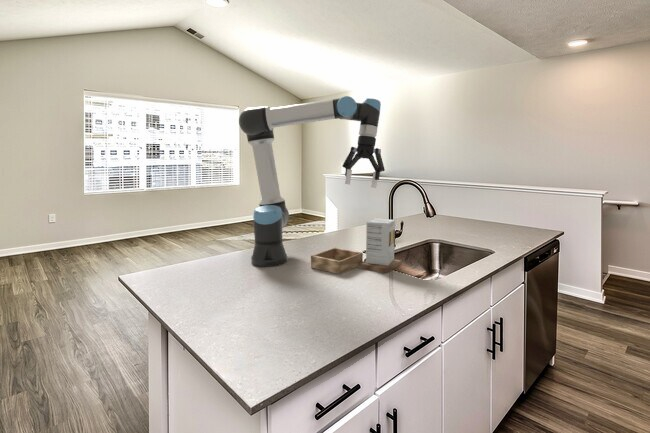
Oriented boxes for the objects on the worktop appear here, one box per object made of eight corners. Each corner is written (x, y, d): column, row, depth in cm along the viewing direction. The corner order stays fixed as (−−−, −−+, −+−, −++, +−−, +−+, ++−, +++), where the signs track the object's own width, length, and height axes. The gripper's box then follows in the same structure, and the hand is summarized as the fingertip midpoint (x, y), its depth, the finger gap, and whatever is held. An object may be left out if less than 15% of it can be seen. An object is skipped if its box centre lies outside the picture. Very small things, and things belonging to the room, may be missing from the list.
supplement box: (388, 266, 148) (388, 223, 145) (365, 263, 152) (365, 221, 149) (394, 259, 156) (395, 219, 154) (373, 257, 160) (373, 217, 157)
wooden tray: (311, 267, 153) (310, 255, 153) (335, 258, 166) (334, 247, 165) (339, 274, 145) (339, 261, 144) (362, 264, 157) (362, 252, 156)
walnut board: (359, 267, 153) (359, 263, 152) (376, 260, 163) (376, 255, 162) (385, 273, 145) (385, 268, 145) (401, 265, 155) (401, 260, 155)
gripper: (397, 139, 158) (389, 189, 160) (348, 137, 173) (342, 183, 175) (388, 135, 152) (380, 188, 154) (339, 134, 168) (332, 182, 169)
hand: (360, 186), depth 165 cm, fingers open, 13 cm apart
